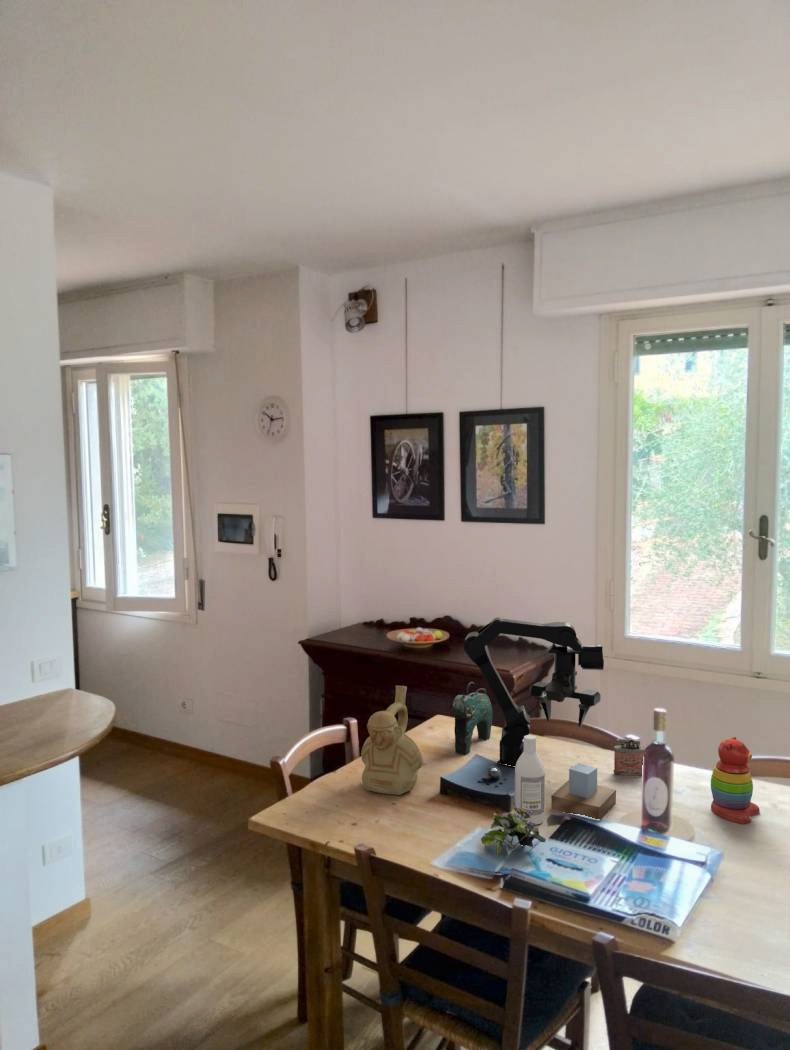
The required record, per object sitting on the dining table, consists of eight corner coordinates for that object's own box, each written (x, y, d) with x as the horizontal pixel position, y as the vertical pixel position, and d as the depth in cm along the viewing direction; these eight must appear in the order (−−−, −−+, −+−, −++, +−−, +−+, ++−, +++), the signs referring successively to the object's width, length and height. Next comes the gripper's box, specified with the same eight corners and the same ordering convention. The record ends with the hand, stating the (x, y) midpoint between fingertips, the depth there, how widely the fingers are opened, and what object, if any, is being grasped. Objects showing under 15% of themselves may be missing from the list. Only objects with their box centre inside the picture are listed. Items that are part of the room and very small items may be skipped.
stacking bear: (746, 826, 179) (748, 751, 178) (702, 813, 186) (704, 740, 185) (761, 810, 187) (764, 739, 186) (719, 799, 194) (721, 729, 193)
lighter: (642, 772, 211) (643, 736, 211) (645, 777, 208) (646, 741, 207) (612, 771, 212) (613, 735, 211) (614, 776, 209) (615, 740, 208)
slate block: (568, 792, 190) (569, 769, 189) (578, 786, 194) (578, 763, 193) (587, 798, 187) (588, 774, 186) (597, 791, 190) (597, 768, 190)
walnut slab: (551, 811, 189) (551, 795, 188) (569, 794, 199) (569, 778, 198) (599, 823, 182) (599, 807, 182) (615, 805, 192) (616, 789, 192)
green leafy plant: (521, 870, 170) (555, 831, 168) (504, 884, 161) (539, 843, 159) (484, 831, 175) (516, 792, 173) (465, 842, 166) (499, 802, 164)
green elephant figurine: (466, 758, 223) (466, 689, 221) (446, 753, 226) (446, 686, 225) (496, 737, 239) (496, 674, 238) (477, 734, 243) (477, 671, 241)
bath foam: (550, 822, 182) (551, 739, 180) (525, 828, 179) (526, 743, 177) (532, 810, 188) (533, 730, 186) (508, 816, 185) (509, 734, 183)
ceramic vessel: (346, 795, 197) (346, 699, 195) (377, 768, 215) (376, 679, 213) (409, 806, 191) (408, 706, 189) (435, 777, 209) (435, 686, 207)
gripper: (521, 670, 213) (521, 725, 214) (586, 680, 202) (586, 738, 204) (538, 661, 222) (537, 715, 223) (601, 671, 212) (600, 726, 213)
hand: (564, 723), depth 215 cm, fingers open, 9 cm apart
